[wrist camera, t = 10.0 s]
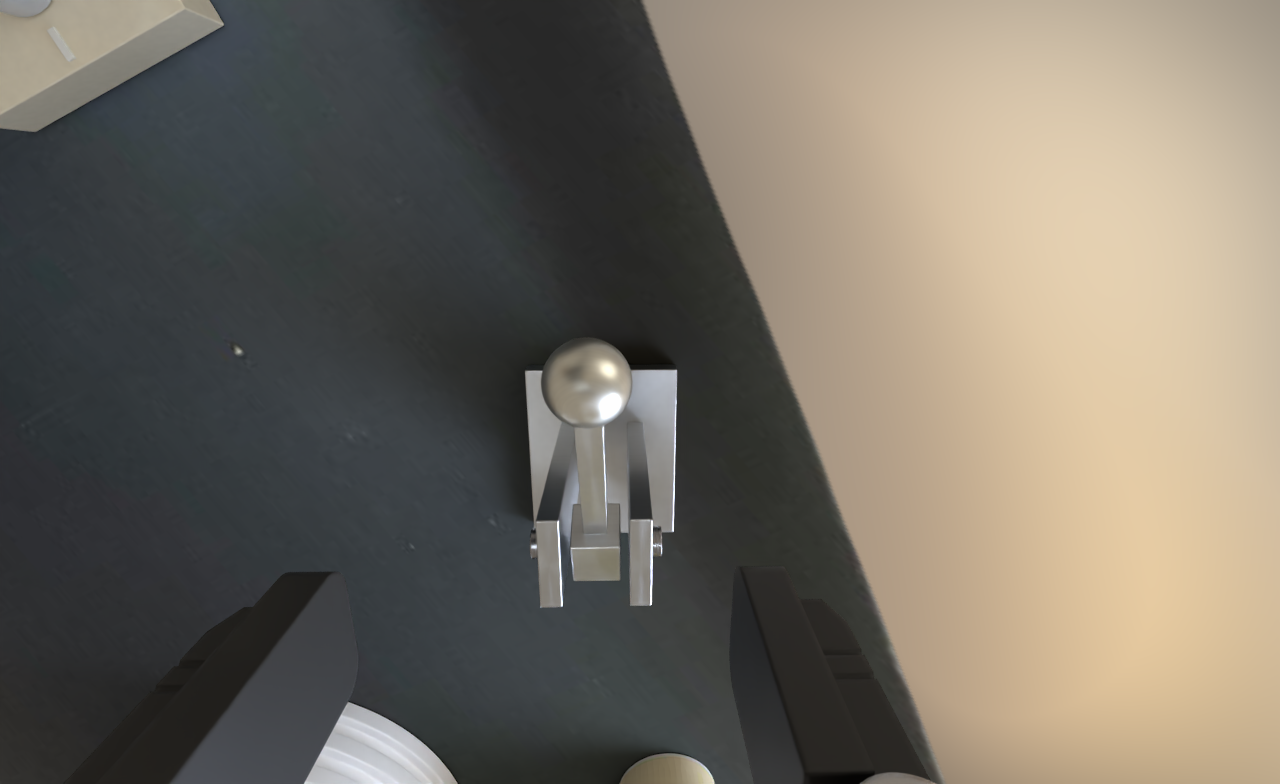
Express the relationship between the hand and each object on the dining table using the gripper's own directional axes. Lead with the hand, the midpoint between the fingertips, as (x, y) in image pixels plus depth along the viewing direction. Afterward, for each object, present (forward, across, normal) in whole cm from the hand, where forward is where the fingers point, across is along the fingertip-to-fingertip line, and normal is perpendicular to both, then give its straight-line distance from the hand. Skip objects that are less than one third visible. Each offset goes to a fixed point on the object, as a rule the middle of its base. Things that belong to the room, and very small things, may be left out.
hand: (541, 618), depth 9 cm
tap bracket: (+28, 0, +9) cm, 29 cm away
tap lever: (+16, 0, +4) cm, 16 cm away
